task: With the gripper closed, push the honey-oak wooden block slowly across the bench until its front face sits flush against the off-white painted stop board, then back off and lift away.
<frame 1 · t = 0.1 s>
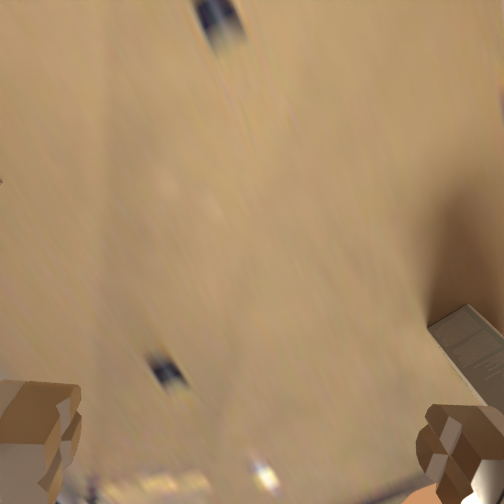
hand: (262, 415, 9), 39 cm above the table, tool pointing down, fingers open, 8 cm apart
hard drive box: (465, 343, 61), on the table
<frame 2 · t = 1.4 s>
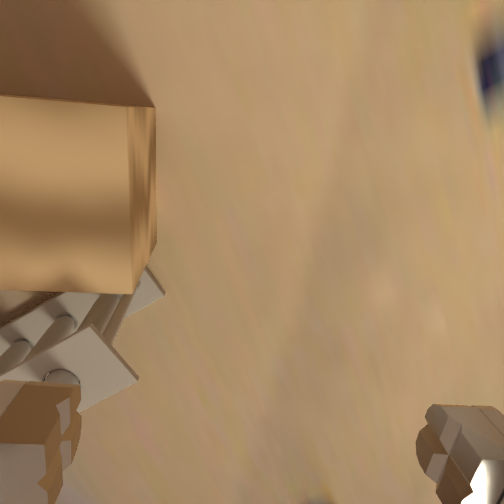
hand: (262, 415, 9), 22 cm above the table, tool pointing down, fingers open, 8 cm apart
test tube rack: (29, 339, 32), on the table
oak block: (58, 172, 27), on the table
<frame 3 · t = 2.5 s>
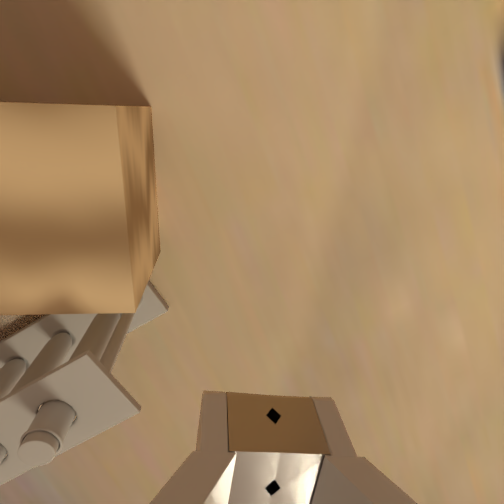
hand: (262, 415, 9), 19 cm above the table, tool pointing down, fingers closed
test tube rack: (24, 356, 30), on the table
oak block: (51, 182, 25), on the table
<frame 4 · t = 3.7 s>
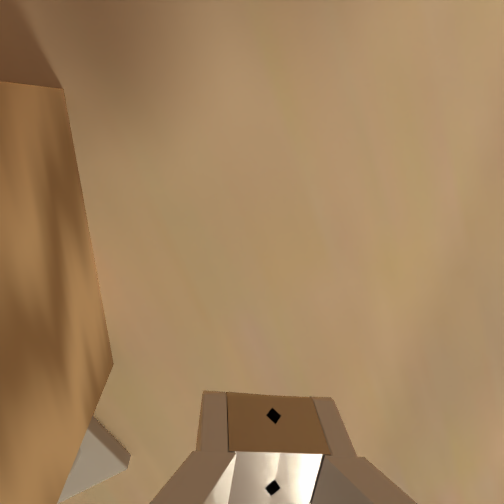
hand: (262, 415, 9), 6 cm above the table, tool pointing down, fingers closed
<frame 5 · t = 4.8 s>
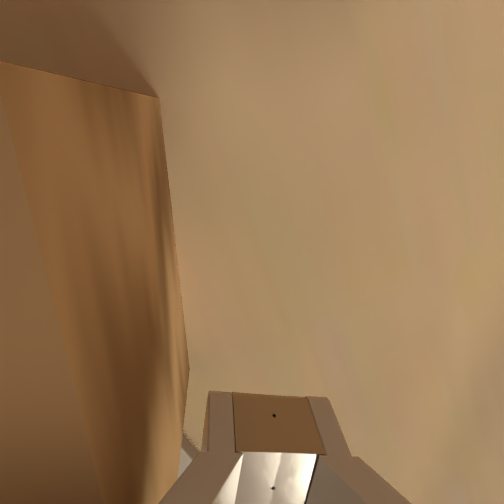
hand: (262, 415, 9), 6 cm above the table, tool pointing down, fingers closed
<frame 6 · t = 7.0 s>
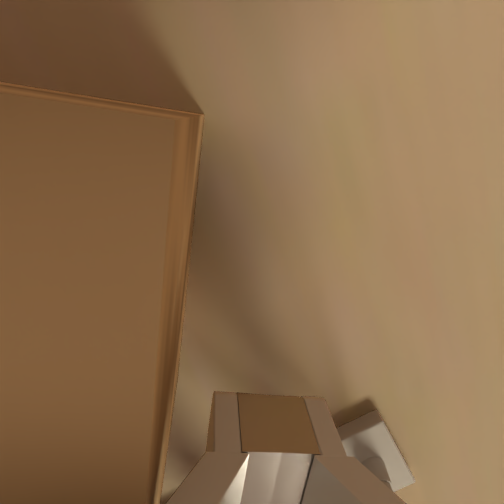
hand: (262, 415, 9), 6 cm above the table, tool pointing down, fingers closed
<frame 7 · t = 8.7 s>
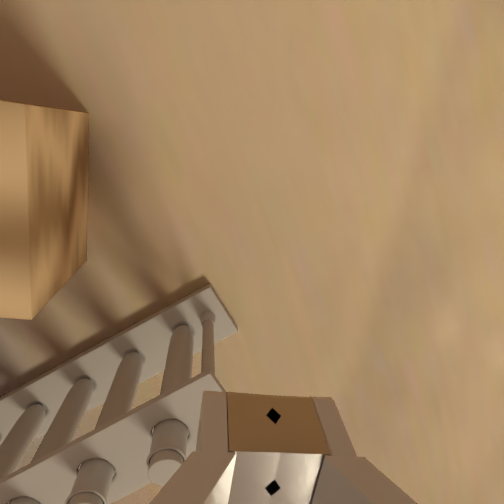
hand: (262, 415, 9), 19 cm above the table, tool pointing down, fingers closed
test tube rack: (88, 376, 30), on the table
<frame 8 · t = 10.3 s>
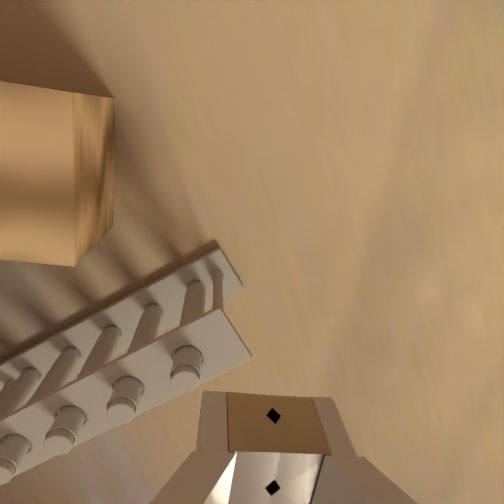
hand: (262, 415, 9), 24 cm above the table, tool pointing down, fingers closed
test tube rack: (114, 326, 35), on the table
oak block: (20, 153, 29), on the table
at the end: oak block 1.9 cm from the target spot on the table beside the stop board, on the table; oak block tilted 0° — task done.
